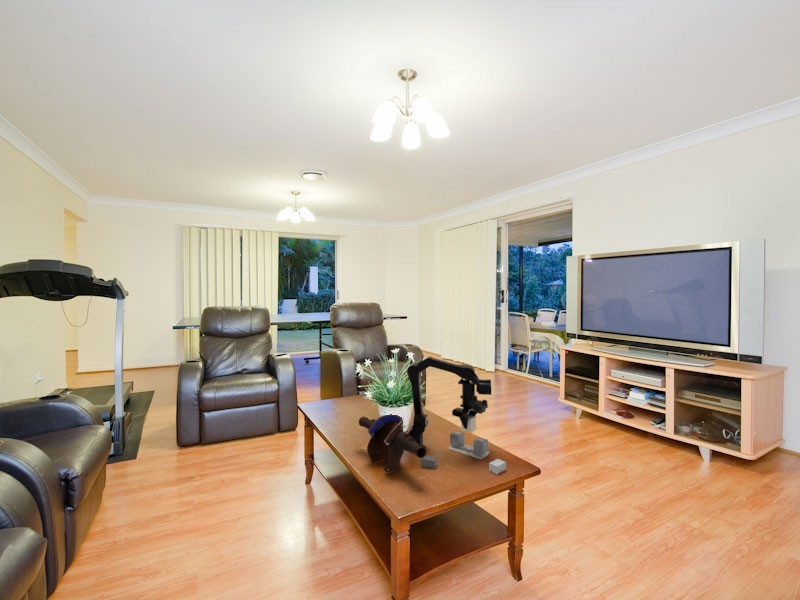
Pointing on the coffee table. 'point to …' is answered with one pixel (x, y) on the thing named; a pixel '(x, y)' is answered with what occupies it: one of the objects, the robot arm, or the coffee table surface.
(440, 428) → the coffee table surface
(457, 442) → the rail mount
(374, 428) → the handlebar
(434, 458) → the block
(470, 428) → the block
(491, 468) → the terminal block
